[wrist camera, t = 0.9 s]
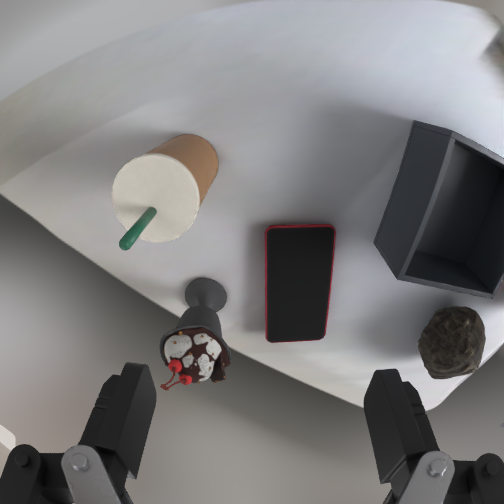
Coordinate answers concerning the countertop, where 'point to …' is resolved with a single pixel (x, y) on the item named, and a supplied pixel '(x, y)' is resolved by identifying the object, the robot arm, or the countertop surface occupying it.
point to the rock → (452, 343)
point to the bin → (446, 214)
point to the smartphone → (298, 281)
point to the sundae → (198, 337)
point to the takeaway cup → (163, 189)
